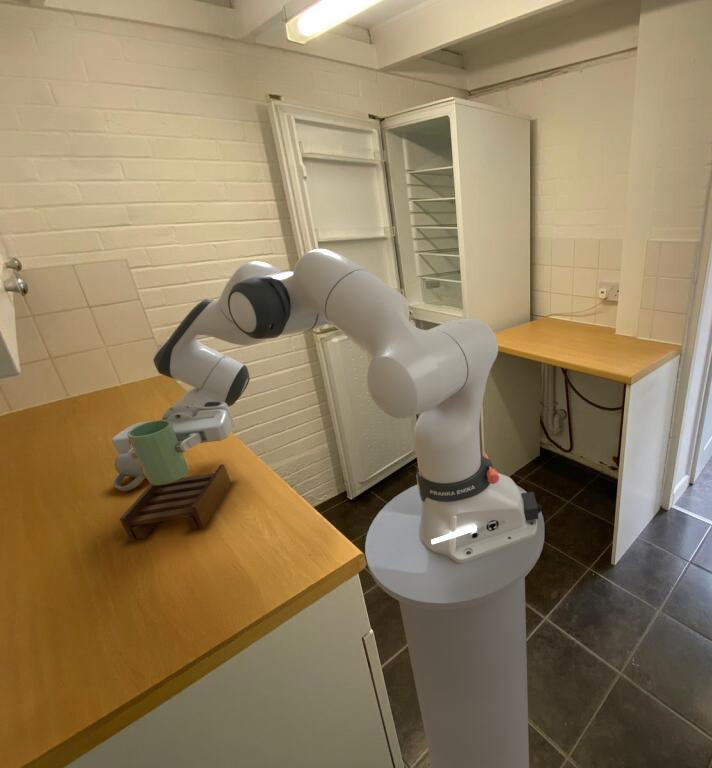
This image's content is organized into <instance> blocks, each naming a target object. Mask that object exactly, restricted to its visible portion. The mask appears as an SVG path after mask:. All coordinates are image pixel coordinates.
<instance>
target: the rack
mask: <svg viewBox="0 0 712 768" xmlns="http://www.w3.org/2000/svg"><path fill="white" fill-rule="evenodd" d="M231 485H232V482H231V480H230V477H229V474H228V471H227V469H226V466H225V463H222V464H219V466H218V467H217V468H216V470H215V471H214V472H211V473H205V474H198V475H191V476H184V477H182V478H181V479H179V480H176V481H174V482H171V483H168V484H164V485H152V484H150V483H149V485H148V486H147V487H146V489H144V491H143V492H142V493H141V494H140V496H139V497H137V499H136V500H135V501H134V502H133V503H132V504H131V506H130V507H129V508H128V509H127V510H126V511H125V512H124V513H123V515H121V517H119V521H120V523H121V525H122V527H123V529H124V531H125V533H126V535H127V537H128V539H129V541H130V542H135V541H141V540H145V539H146V538H147V537H148V535H150V532H152V530H153V529H154V527H155V526H156V525H157V524H158V523H159V522H165V521H170V520H176V519H181V518H182V519H183V518H186V523H187V524H188V527H189V529H190V531H191V532H193V531H198V530H204V529H206V527H207V525H208V523H209V521H210V520H211V518H212V516H213V515H214V514H215V511H216V510H217V508H218V507H219V505H220V503H221V501H222V500H223V498H224V497H225V495H226V493H227V492H228V490H229V488H230V486H231Z"/></svg>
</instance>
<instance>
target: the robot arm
mask: <svg viewBox="0 0 712 768" xmlns="http://www.w3.org/2000/svg"><path fill="white" fill-rule="evenodd" d="M330 324H331V326H333V327H334V328H336V329H337V330H338V331H339V332H340V333H342V334H343V335H344V336H345V337H347V338H348V339H349V340H350V341H351V342H353V343H354V344H355V345H356V346H357V347H358V348H359V349H360V350H361V351H362V352H363V354H364V355H365V357H366V359H367V361H368V366H367V369H366V375H365V381H366V388H367V391H368V394H369V396H370V398H371V400H372V401H373V403H374V404H375V406H376V407H378V408H379V410H381V411H382V412H384V413H385V414H386V415H389V416H390V417H393V418H397V419H406V418H410V417H413V416H416V415H419V414H420V415H419V416H418V418H417V420H416V422H415V425H414V428H413V429H414V430H413V440H414V446H415V454H416V460H417V466H416V474H415V475H416V476H415V477H416V483H417V484H418V491H419V495H420V497H421V500H422V511H421V521H420V526H419V537H420V540H421V542H422V543H423V544H424V545H425V546H426V547H427V548H428V549H430V550H432V551H434V552H436V553H439V554H443V555H446V556H449V557H450V558H451V559H452V560H453V561H455V562H456V563H459V564H465V563H467V562H470V561H473V560H475V559H478V558H481V557H483V556H486V555H489V554H491V553H494V552H496V551H499V550H502V549H504V548H507V547H510V546H512V545H515V544H518V543H520V542H523V541H526V540H528V539H531V538H533V537H534V536H535V535H536V532H537V519H538V514H539V513H540V512H541V513H542V506H541V504H539V503H537V499H536V495H535V492H534V491H530V492H529V491H527V493H522V492H520V491H519V489H518V487H517V486H518V485H517V484H516V482H515V481H514V480H513V479H512V478H511V477H510V476H508V475H505V474H503V473H500V472H498V471H497V469H496V468H493V463H492V460H491V459H490V458H489V457H488V456H489V455H488V454H487V453H486V452H485V451H484V452H483V455H482V454H481V438H480V437H481V436H480V435H481V434H480V424H481V423H480V422H481V415H482V414H481V413H482V407H483V403H484V398H485V392H486V387H487V383H488V378H489V375H490V373H491V370H492V368H493V365H494V363H495V361H496V360H497V357H498V354H499V342H498V339H497V336H496V334H495V332H494V331H493V329H492V328H491V327H490V326H489V324H487V323H486V322H484V321H482V320H481V319H477V318H458V319H452V320H449V321H446V322H444V323H442V324H439V325H437V326H434V327H431V328H429V329H423V328H419V327H417V326H415V325H414V324H413V323H412V322H411V321H410V307H409V302H408V299H407V298H406V297H405V295H404V294H402V293H401V292H400V291H398V290H396V289H395V288H394V287H393V286H391V285H389V284H388V283H387V282H386V281H384V280H383V279H381V278H380V277H378V276H377V275H376V274H374V273H373V272H371V271H370V270H369V269H367V268H366V267H364V266H363V265H360V264H359V263H358V262H356V261H354V260H352V259H350V258H349V257H347V256H344V255H342V254H340V253H338V252H335V251H333V250H330V249H327V248H315V249H312V250H310V251H307V252H306V253H304V254H303V255H301V256H300V257H299V259H298V260H297V261H296V263H295V265H294V268H293V271H282V270H280V269H279V268H278V267H276V266H274V265H272V264H271V263H267V262H265V261H254V260H253V261H249V262H245V263H243V264H241V265H240V266H239V267H238V268H237V269H236V270H235V271H234V272H233V274H232V275H231V276H230V278H229V279H228V281H227V282H226V284H225V286H224V287H223V290H222V291H221V294H220V296H219V298H216V299H210V298H209V299H207V298H205V299H202V301H200V302H199V303H198V304H196V305H195V306H194V307H193V308H192V309H191V310H190V311H189V312H188V313H187V315H186V316H185V317H184V318H183V320H182V321H181V322H180V324H179V325H178V326H177V327H176V328H175V330H174V331H173V333H172V334H171V335H170V337H169V338H168V339H167V340H165V341H164V342H163V343H162V344H161V345H160V346H159V347H158V348H157V350H156V352H155V354H154V357H153V359H152V360H153V364H154V367H155V369H156V371H157V372H158V373H159V374H160V375H162V376H164V377H167V378H171V379H173V380H177V381H179V382H182V383H184V384H186V385H188V386H191V387H192V388H190V389H189V390H188V391H186V392H185V394H183V396H182V397H181V398H179V399H178V400H177V401H175V402H174V403H173V404H172V405H170V406H169V407H168V408H167V409H166V410H165V411H164V413H163V415H162V417H161V420H168V421H170V422H171V423H172V426H173V428H174V430H175V433H176V435H177V438H178V440H179V442H178V443H177V444H176V445H175V449H176V450H177V453H180V452H183V453H187V452H188V451H189V449H191V448H193V447H195V446H197V445H199V444H205V443H213V442H220V441H223V440H225V439H228V438H229V437H230V435H231V433H232V432H233V429H234V428H235V421H234V418H233V417H234V416H233V414H232V412H231V409H230V407H231V406H233V405H235V404H236V402H237V401H238V400H239V399H240V398H241V396H242V395H243V394H244V392H245V390H246V389H247V387H248V385H249V383H250V380H251V378H250V373H249V369H248V367H247V365H246V364H244V363H242V362H240V361H238V360H237V359H234V358H232V357H231V356H228V355H226V354H224V353H222V352H221V351H220V352H219V351H217V350H216V349H213V348H212V347H209V346H207V345H205V344H203V343H201V342H200V341H199V340H198V338H199V337H200V336H206V337H211V338H214V339H218V340H221V341H224V342H227V343H229V344H233V345H237V346H238V345H239V346H252V345H256V344H260V343H262V342H264V341H266V340H270V339H277V338H278V337H280V336H289V335H294V334H298V333H303V332H311V331H313V330H316V329H319V328H321V327H325V326H327V325H330ZM157 420H158V419H155V420H154V421H157ZM152 421H153V420H149V421H140V422H136V423H134V424H131V425H129V426H128V427H126V428H124V429H123V430H121V431H120V432H118V433H117V434H115V435H114V436H113V437H112V438H111V443H112V445H113V447H114V449H115V450H116V452H117V453H118V454H119V453H120V454H124V453H128V455H129V457H130V459H136V458H138V457H137V455H136V453H135V451H134V449H133V447H132V444H131V442H130V440H129V438H128V436H127V434H128V432H129V431H130V430H131V429H133V428H135V427H137V426H139V425H142V424H144V423H148V422H152ZM417 484H416V485H417ZM531 524H532V525H531ZM467 554H469V555H467Z"/></svg>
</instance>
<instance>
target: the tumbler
mask: <svg viewBox="0 0 712 768" xmlns="http://www.w3.org/2000/svg"><path fill="white" fill-rule="evenodd" d="M156 420H157V421H155V420H151V421H152V422H148V423H144V424H142V425H139V426H137V427H135V428H133V429H131V430H130V431H129V432H128V434H127V436H128V438H129V440H130V442H131V444H132V447H133V449H134V451H135V453H136V455H137V457H138V460H139V462H140V464H141V466H142V468H143V470H144V473H145V475H146V477H147V478H146V479H147V481H148V482H149V485H150V484H152V485H164V484H168V483H171V482H174V481H176V480H179V479H181V478H184V477H186V476H187V474H189V472H190V470H191V469H190V465H189V463H188V460H187V457H186V455H185V452H180V453H177V450H176V449H175V445H176V444H177V443H178V442H179V440H178V438H177V435H176V433H175V430H174V428H173V426H172V423H171V422H170V421H168V420H162V419H156Z"/></svg>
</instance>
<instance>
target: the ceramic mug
mask: <svg viewBox="0 0 712 768" xmlns="http://www.w3.org/2000/svg"><path fill="white" fill-rule="evenodd" d="M114 461H115V462H114V466H115V470H116V471H117V473H118V475H116V478H114V481H113V486H114V488H115V489H117V490H119V491H121V492H127V491H131V490H133V489H135V488H136V487H138V486H139V485H140V484H141V483H142V482H143V481H144V480H145V479H147V477H146V475H145V473H144V470H143V468H142V466H141V464H140V462H139V460H138V458H136V459H130V457H129V455H128V453H124V454H120V453H118V454H117V456H116V458H115V460H114ZM126 477H127V478H134V479H133V480H132V481H131V482H130V483H128V484H126V485H124V486H122V485H121V484H122V482H123V481H124V479H125V478H126Z"/></svg>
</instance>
